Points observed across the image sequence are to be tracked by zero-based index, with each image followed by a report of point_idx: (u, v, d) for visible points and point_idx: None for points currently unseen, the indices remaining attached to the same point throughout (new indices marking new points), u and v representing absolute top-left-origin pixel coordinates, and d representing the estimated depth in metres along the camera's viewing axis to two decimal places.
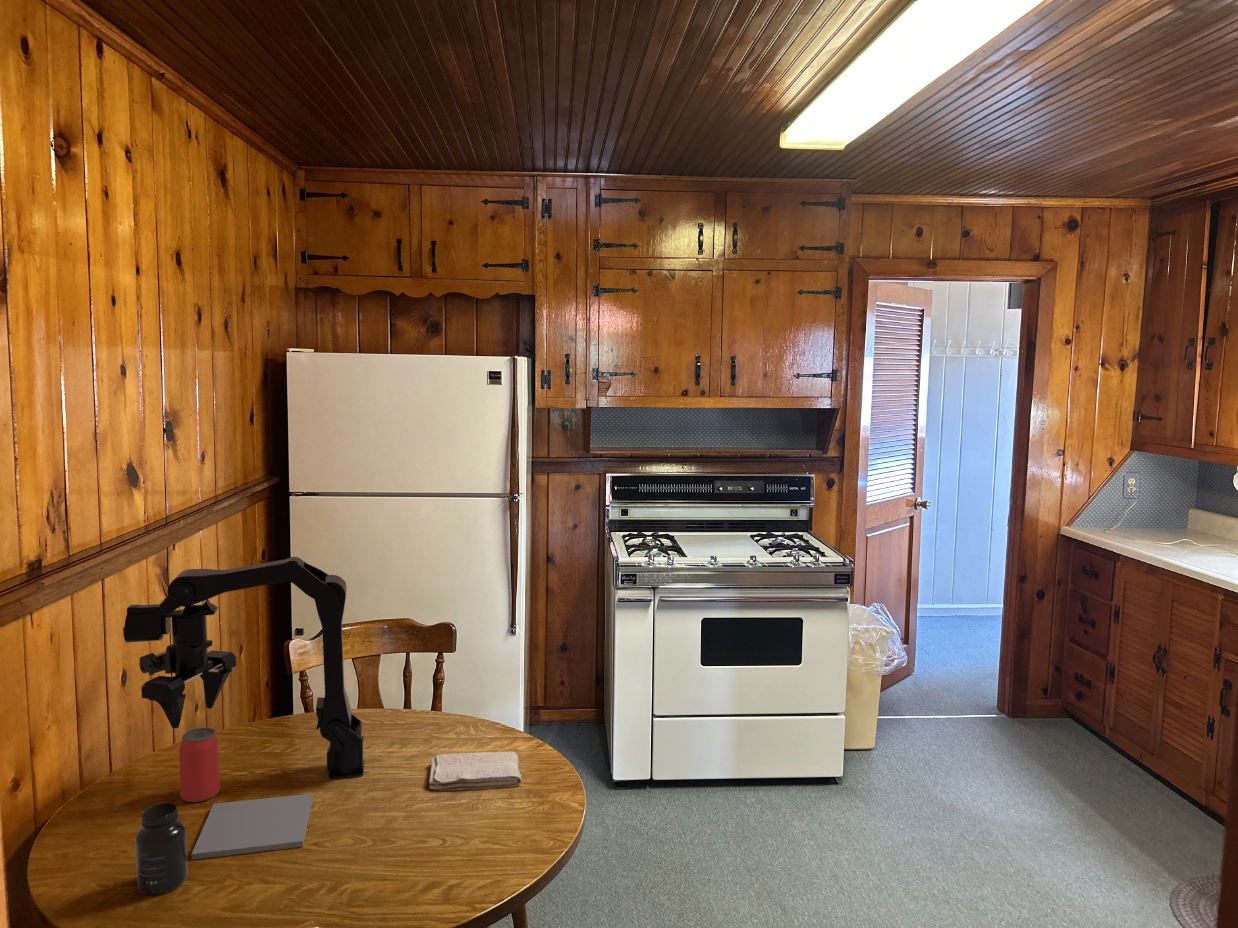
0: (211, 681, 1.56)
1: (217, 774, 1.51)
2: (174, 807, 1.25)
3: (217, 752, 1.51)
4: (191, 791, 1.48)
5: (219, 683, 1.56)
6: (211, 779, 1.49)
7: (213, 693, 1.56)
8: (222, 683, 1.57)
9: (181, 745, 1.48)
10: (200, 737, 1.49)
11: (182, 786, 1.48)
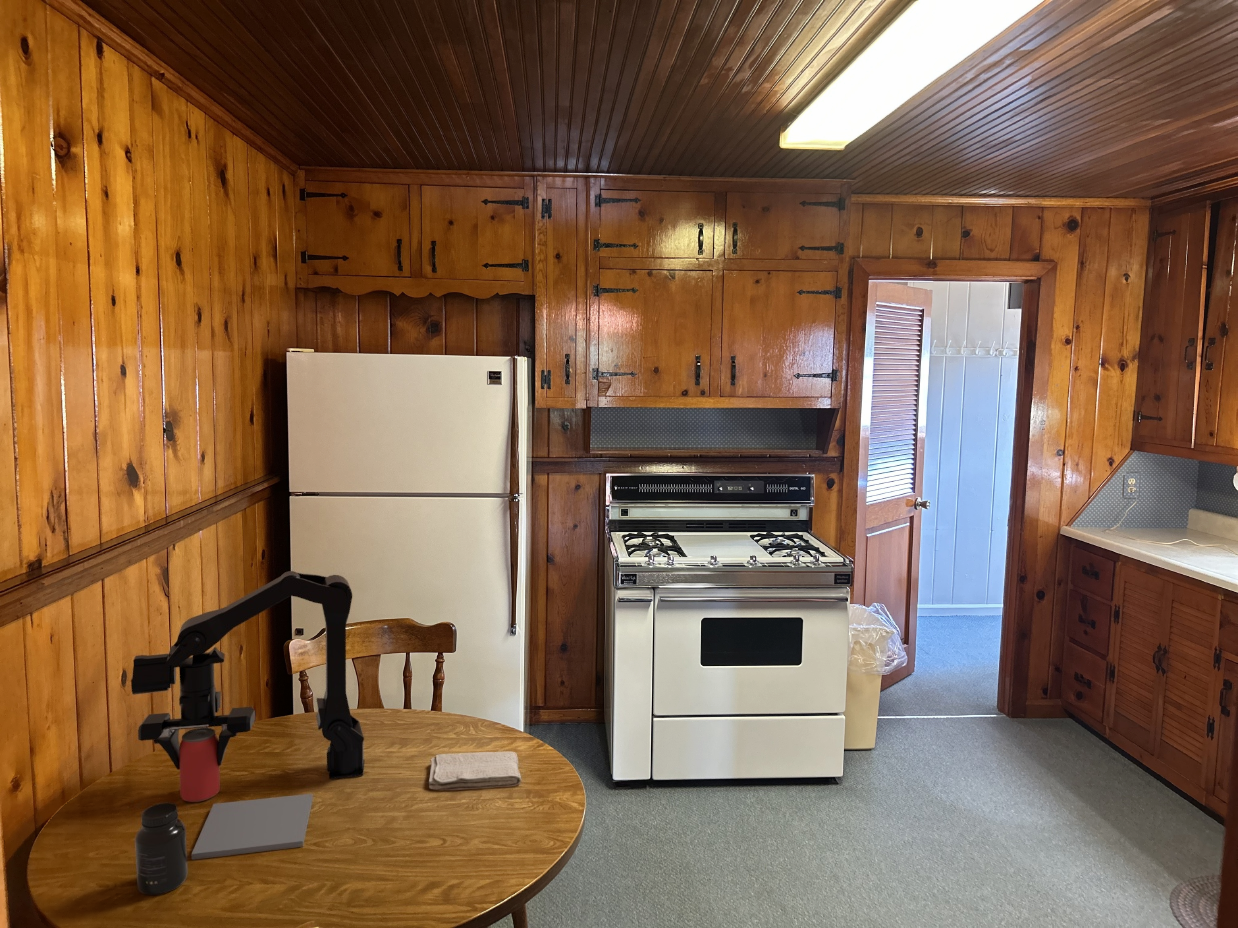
0: None
1: (217, 774, 1.51)
2: (174, 807, 1.25)
3: (217, 752, 1.51)
4: (191, 790, 1.48)
5: None
6: (211, 779, 1.49)
7: None
8: (222, 745, 1.49)
9: (181, 745, 1.48)
10: (200, 737, 1.49)
11: (182, 786, 1.48)
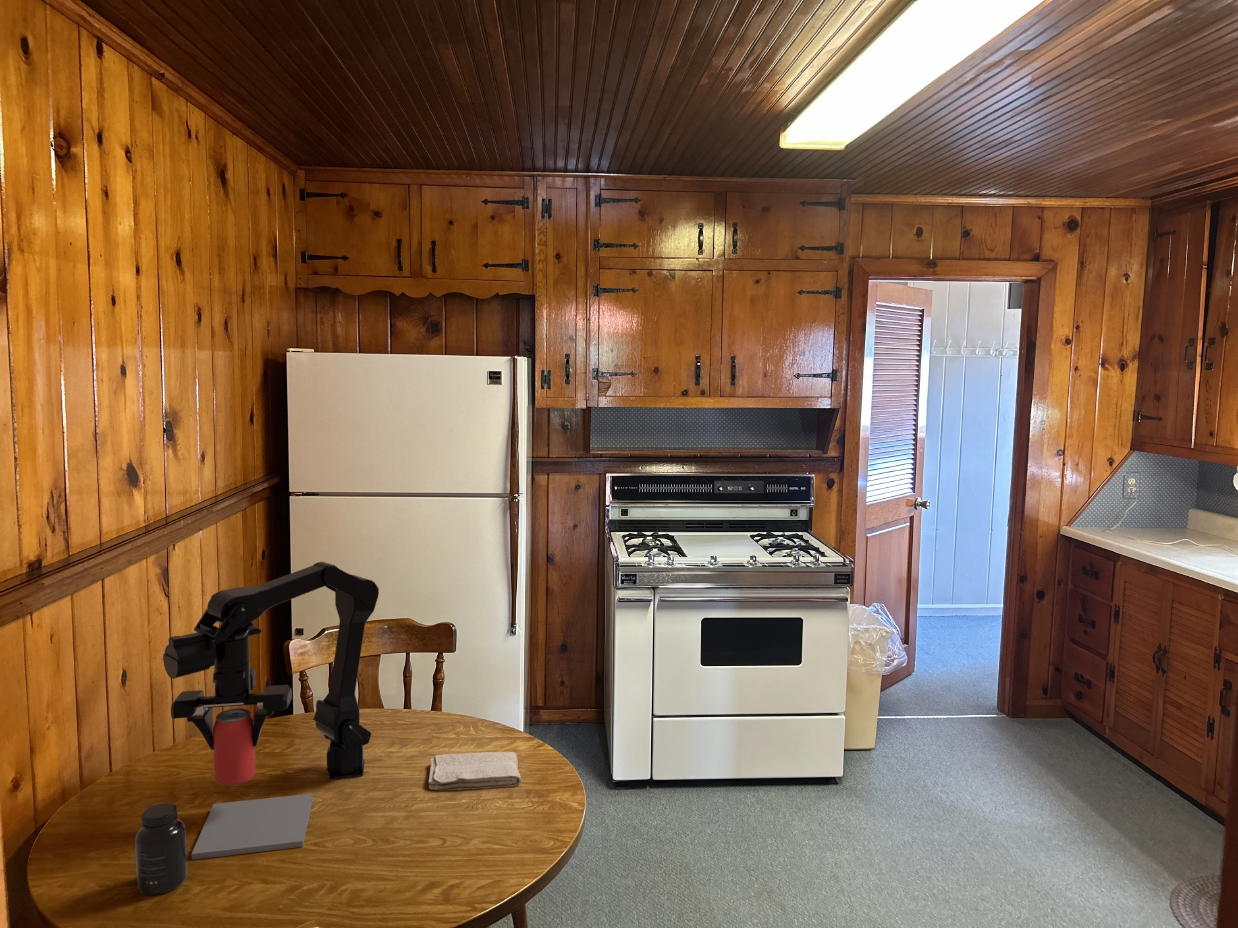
0: None
1: (252, 757, 1.43)
2: (174, 807, 1.25)
3: (252, 734, 1.43)
4: (225, 774, 1.40)
5: (254, 723, 1.42)
6: (247, 762, 1.42)
7: (254, 731, 1.43)
8: (258, 724, 1.42)
9: (215, 725, 1.41)
10: (235, 717, 1.42)
11: (216, 769, 1.41)
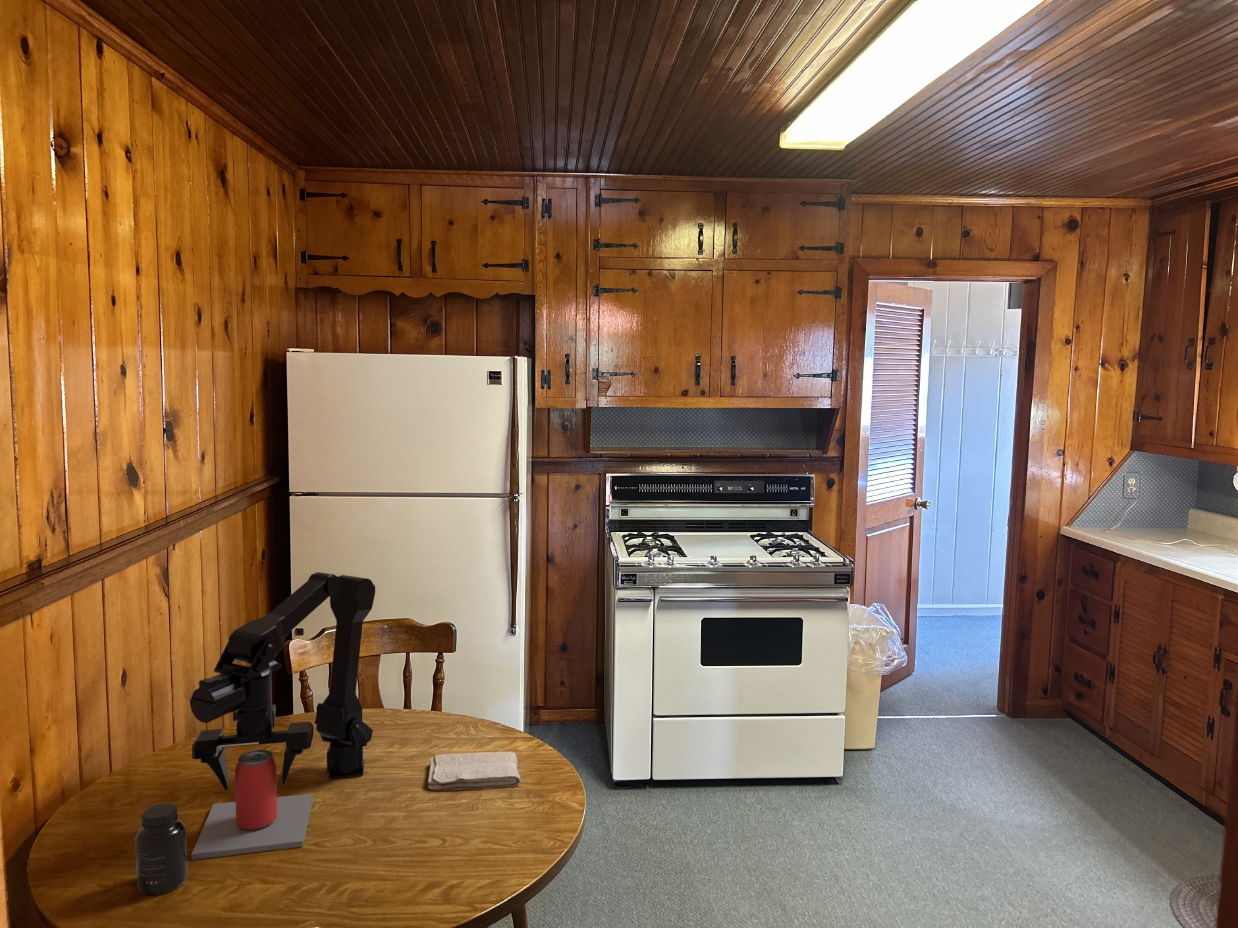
0: None
1: (275, 799, 1.41)
2: (174, 807, 1.25)
3: (275, 776, 1.40)
4: (248, 818, 1.37)
5: None
6: (269, 805, 1.39)
7: (283, 769, 1.40)
8: (287, 762, 1.39)
9: (237, 768, 1.38)
10: (257, 760, 1.39)
11: (238, 813, 1.38)
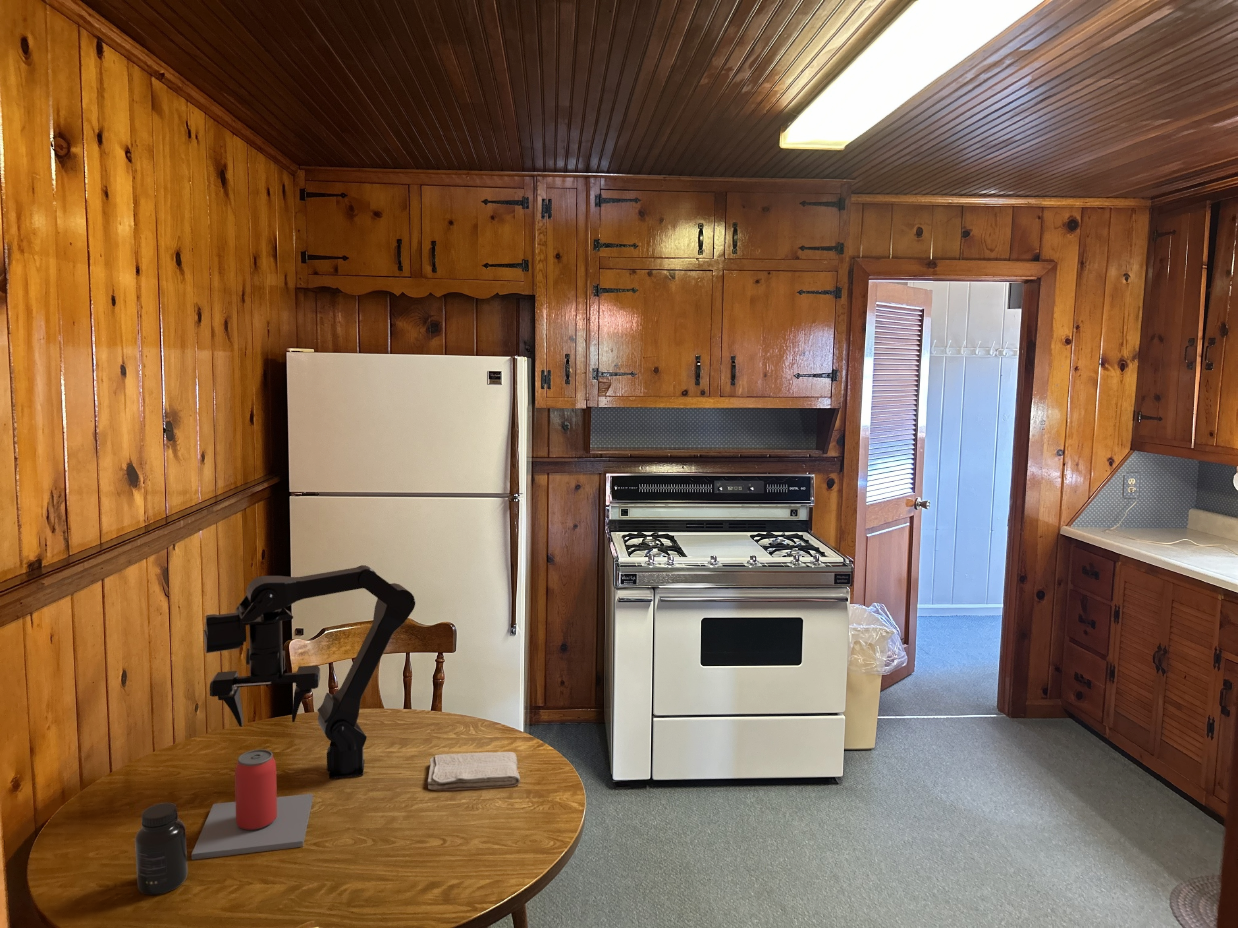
0: None
1: (275, 799, 1.41)
2: (174, 807, 1.25)
3: (275, 776, 1.40)
4: (248, 818, 1.37)
5: (293, 700, 1.52)
6: (269, 805, 1.39)
7: None
8: (297, 701, 1.52)
9: (237, 768, 1.38)
10: (257, 760, 1.39)
11: (238, 813, 1.38)
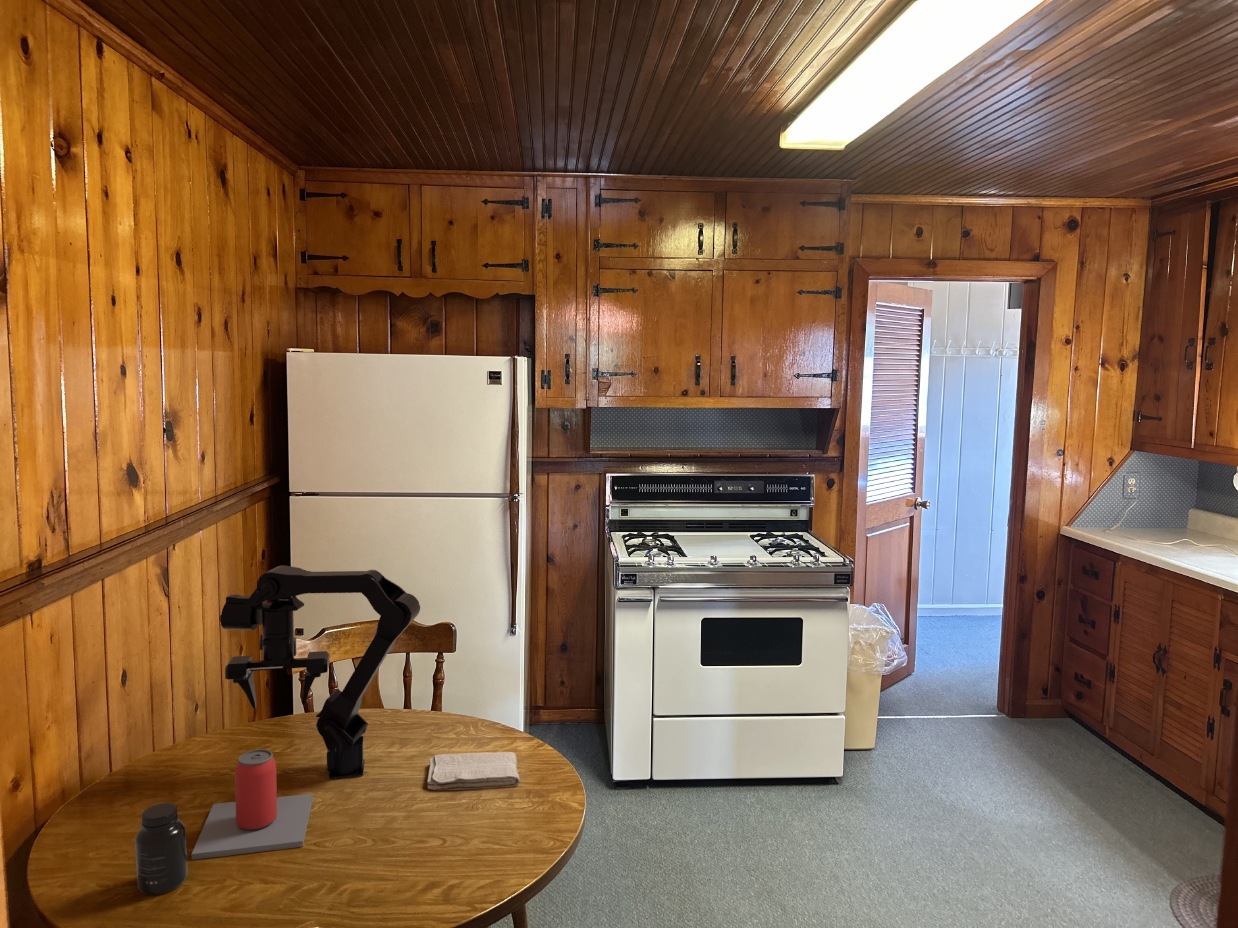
0: None
1: (275, 799, 1.41)
2: (174, 807, 1.25)
3: (275, 776, 1.40)
4: (248, 818, 1.37)
5: (304, 683, 1.60)
6: (269, 805, 1.39)
7: (303, 691, 1.61)
8: (307, 684, 1.60)
9: (237, 768, 1.38)
10: (257, 760, 1.39)
11: (238, 813, 1.38)
